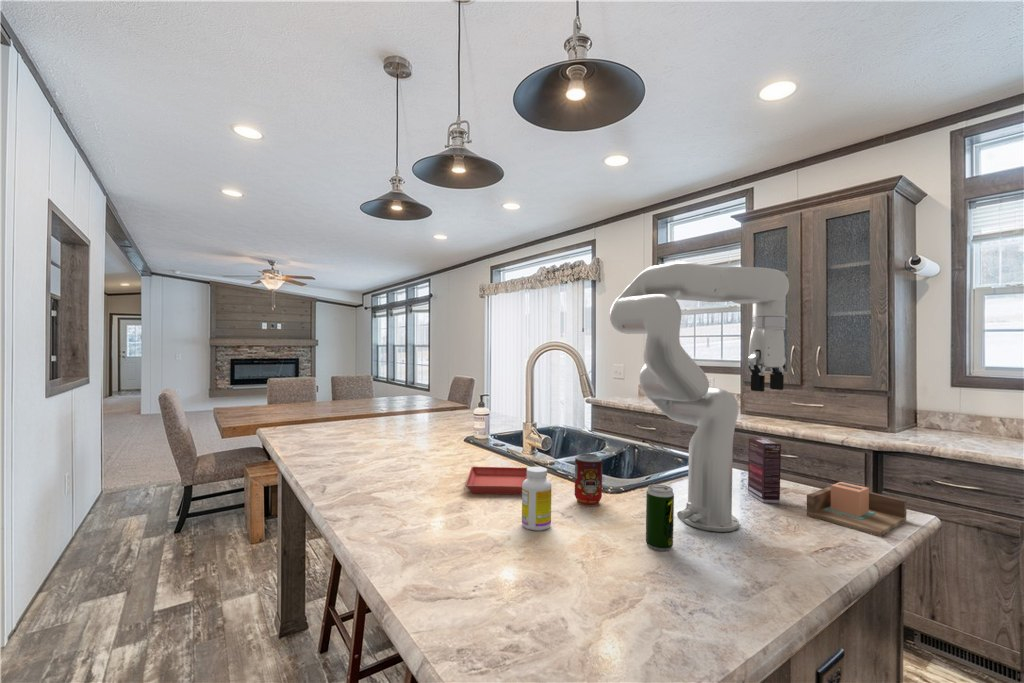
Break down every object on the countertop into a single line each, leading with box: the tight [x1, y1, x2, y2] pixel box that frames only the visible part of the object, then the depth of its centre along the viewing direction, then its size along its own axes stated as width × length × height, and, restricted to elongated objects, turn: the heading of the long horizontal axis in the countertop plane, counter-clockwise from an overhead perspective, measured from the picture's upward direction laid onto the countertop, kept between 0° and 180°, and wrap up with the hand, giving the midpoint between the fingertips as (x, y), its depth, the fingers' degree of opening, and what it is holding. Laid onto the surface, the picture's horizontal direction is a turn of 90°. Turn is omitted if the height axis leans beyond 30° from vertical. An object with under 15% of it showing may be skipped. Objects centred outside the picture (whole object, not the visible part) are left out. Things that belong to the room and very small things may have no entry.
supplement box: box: [747, 436, 782, 504], centre depth 127 cm, size 9×5×16 cm, turn 179°
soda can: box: [574, 452, 603, 507], centre depth 121 cm, size 7×7×12 cm
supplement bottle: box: [521, 466, 552, 532], centre depth 105 cm, size 7×7×13 cm
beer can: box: [645, 483, 675, 552], centre depth 95 cm, size 5×5×12 cm
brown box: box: [830, 481, 870, 517], centre depth 115 cm, size 6×6×6 cm
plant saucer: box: [465, 466, 528, 495], centre depth 134 cm, size 18×18×3 cm
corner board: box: [805, 485, 908, 537], centre depth 113 cm, size 17×15×5 cm
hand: (767, 390), depth 120 cm, fingers open, 9 cm apart
